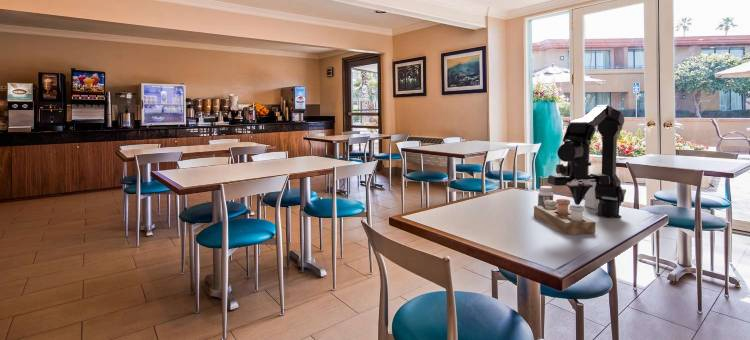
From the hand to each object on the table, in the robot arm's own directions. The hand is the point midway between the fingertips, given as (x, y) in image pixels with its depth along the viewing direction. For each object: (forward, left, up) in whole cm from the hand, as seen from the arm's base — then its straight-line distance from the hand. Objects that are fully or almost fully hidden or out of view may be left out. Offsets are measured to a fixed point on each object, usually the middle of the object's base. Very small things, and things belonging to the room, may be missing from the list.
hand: (577, 204), depth 140 cm
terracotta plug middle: (0, -9, -7) cm, 11 cm away
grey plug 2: (0, 0, -7) cm, 7 cm away
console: (0, -9, -9) cm, 13 cm away
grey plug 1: (0, -19, -9) cm, 21 cm away
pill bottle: (-3, -29, -10) cm, 31 cm away
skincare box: (-25, -32, -10) cm, 42 cm away
